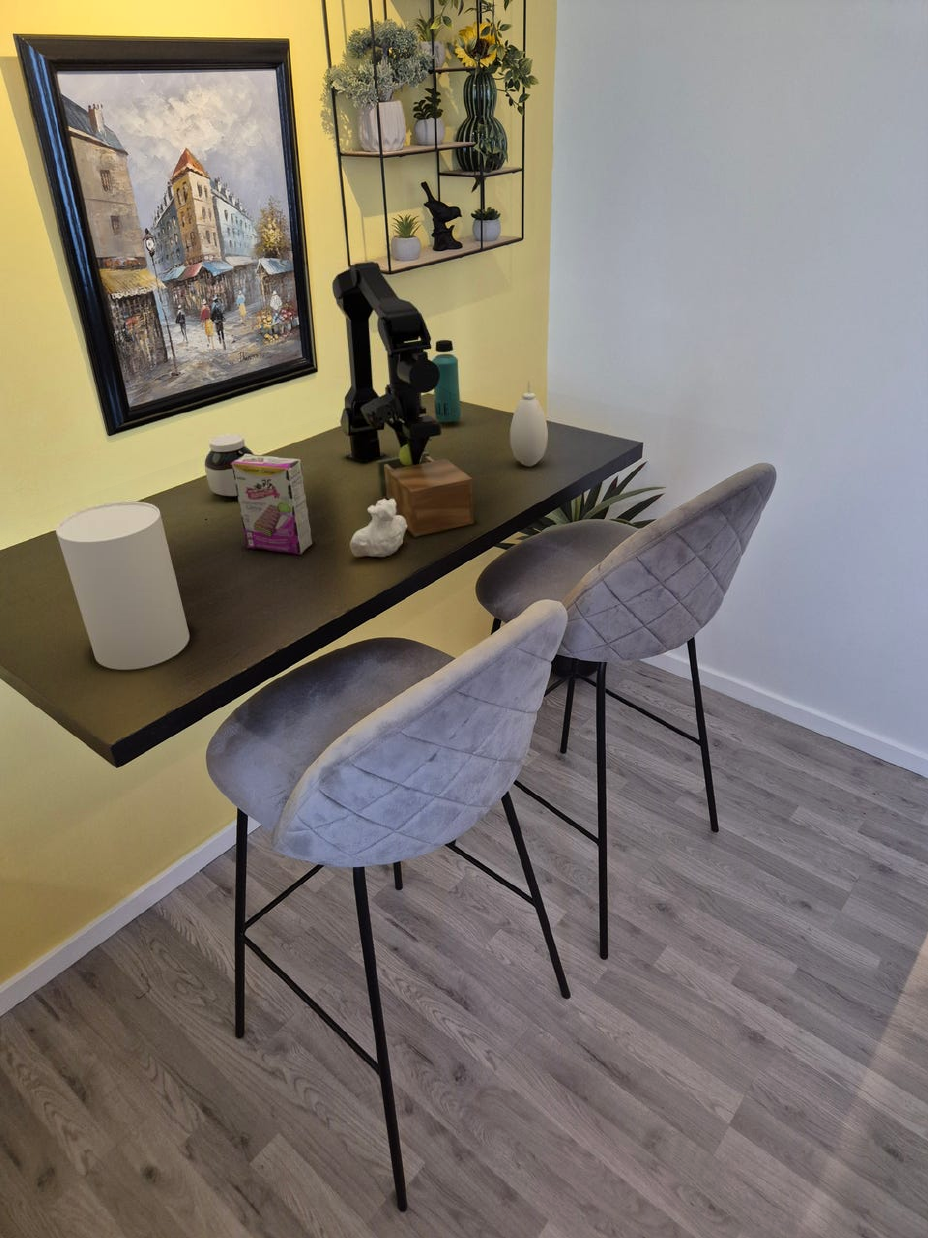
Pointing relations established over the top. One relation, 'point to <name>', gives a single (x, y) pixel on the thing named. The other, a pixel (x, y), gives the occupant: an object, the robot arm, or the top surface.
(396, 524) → the white lumpy figure
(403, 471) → the cabinet
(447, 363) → the beverage bottle
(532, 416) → the white air blower bulb
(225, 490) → the spread jar
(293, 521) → the candy bar box
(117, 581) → the canister
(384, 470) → the drawer
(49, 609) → the top surface
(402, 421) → the robot arm
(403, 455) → the ball
